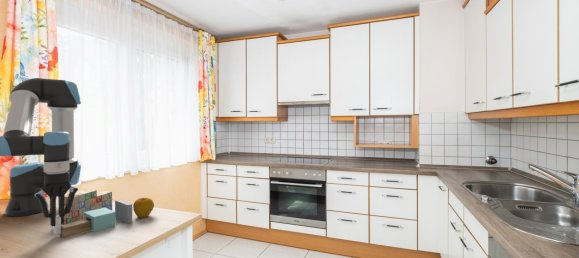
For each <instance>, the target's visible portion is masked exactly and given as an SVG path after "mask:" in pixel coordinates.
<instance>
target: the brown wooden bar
mask: <svg viewBox="0 0 579 258" xmlns="http://www.w3.org/2000/svg"><path fill="white" fill-rule="evenodd" d="M88 232H92V231H91V219H89V218H88V219H84V220H80V221H77V222H73V223H69V224H61V234H59V235H58V237H60V238H62V239H67V238H68V239H69V238H70V237H75V236H77V235H81V234H83V233H88Z"/></svg>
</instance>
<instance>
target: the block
mask: <svg viewBox="0 0 579 258" xmlns="http://www.w3.org/2000/svg"><path fill="white" fill-rule="evenodd" d="M88 218H89V219H91V231H90V232H93V233H94V232H95V233H96V232H98V231H101V230H105V229H109V228H114V227H115V226H116V218H115V210H113V209H112V210H110V209H107V208H100V209H96V210H91V211H87V212H84V219H88Z"/></svg>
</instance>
